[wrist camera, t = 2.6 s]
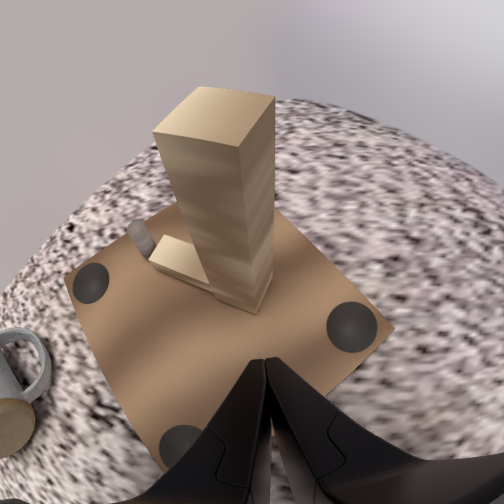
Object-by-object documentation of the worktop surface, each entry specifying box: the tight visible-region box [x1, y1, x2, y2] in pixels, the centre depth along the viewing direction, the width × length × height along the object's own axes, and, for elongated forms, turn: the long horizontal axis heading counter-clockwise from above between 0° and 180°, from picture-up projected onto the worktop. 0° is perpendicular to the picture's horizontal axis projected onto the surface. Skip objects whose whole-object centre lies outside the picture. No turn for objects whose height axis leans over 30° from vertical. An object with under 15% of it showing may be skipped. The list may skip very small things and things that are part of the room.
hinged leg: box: [149, 86, 275, 314], centre depth 13 cm, size 7×3×12 cm, turn 67°
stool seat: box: [64, 201, 395, 473], centre depth 17 cm, size 17×16×4 cm
